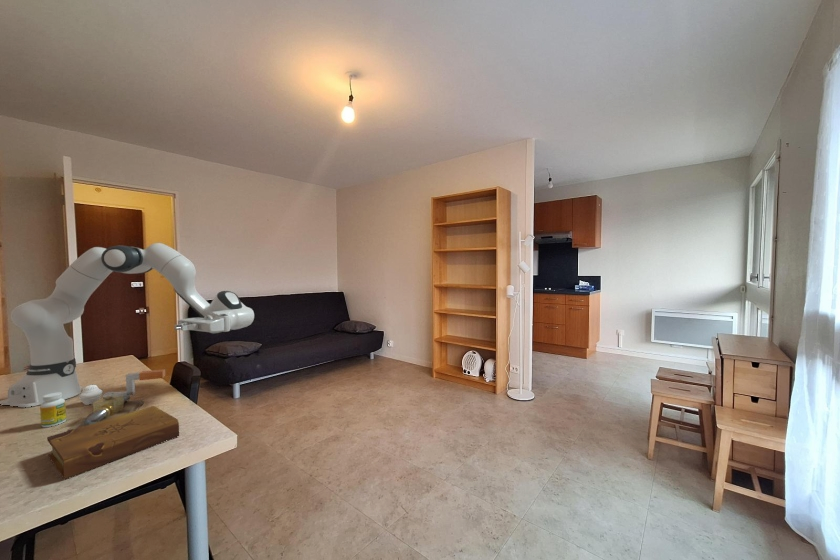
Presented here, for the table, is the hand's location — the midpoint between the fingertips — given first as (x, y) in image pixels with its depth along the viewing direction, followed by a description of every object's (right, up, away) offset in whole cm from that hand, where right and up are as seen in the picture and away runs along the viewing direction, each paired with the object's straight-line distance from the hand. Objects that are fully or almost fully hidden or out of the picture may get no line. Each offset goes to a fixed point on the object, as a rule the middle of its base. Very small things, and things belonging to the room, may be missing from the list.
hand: (178, 327), depth 118 cm
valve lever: (-9, -22, -9) cm, 25 cm away
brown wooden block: (+4, -30, -28) cm, 41 cm away
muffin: (-33, -28, +1) cm, 44 cm away
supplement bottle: (-29, -29, -15) cm, 44 cm away
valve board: (-15, -28, -11) cm, 34 cm away
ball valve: (-15, -28, -11) cm, 34 cm away
